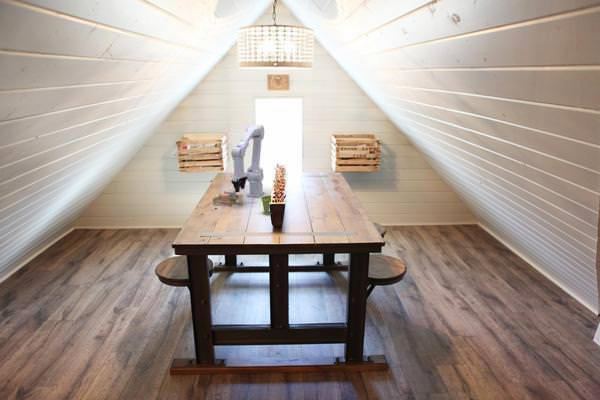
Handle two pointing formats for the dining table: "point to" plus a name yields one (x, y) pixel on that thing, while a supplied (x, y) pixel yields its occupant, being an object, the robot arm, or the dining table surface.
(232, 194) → the grey block
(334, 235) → the dining table surface
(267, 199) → the plant pot
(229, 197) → the tethered block
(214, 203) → the lane shelf
